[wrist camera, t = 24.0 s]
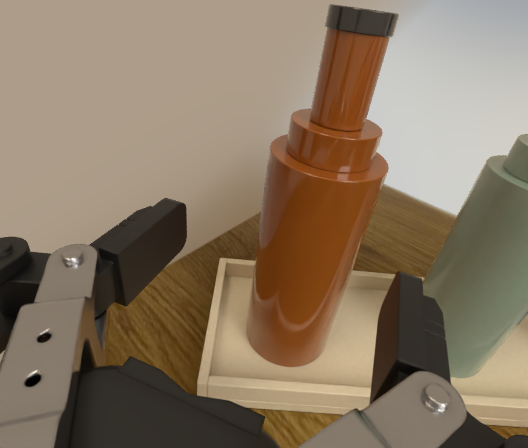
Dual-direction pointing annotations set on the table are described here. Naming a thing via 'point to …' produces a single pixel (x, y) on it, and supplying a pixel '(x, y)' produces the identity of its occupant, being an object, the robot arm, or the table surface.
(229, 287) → the tray
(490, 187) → the grey-green bottle
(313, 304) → the amber bottle
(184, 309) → the table surface
